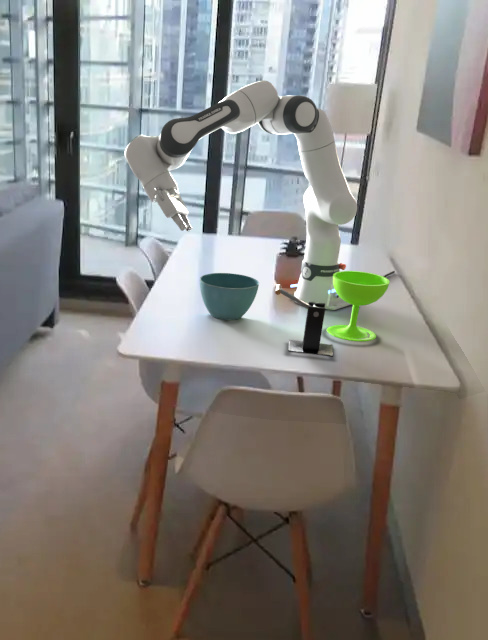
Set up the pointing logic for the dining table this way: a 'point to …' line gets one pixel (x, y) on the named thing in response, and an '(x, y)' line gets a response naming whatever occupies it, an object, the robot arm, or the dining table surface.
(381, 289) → the wineglass
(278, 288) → the lever
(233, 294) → the teal ceramic bowl
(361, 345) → the dining table surface
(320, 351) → the bracket
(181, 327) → the dining table surface
